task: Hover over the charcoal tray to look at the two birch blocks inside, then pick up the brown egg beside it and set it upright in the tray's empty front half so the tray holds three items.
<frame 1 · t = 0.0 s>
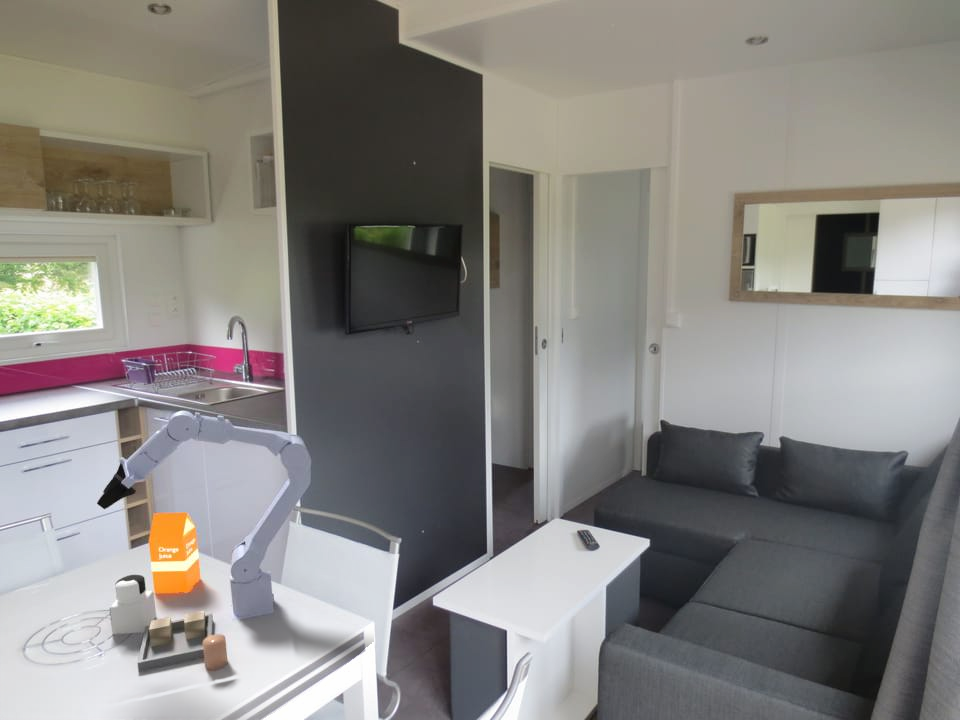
hand: (103, 500, 149), 32 cm above the table, tool tilted 50°, fingers open, 7 cm apart
birch block a: (196, 632, 153), point 1 cm above the table, touching tray
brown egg: (216, 666, 141), on the table
birch block b: (162, 639, 151), point 1 cm above the table, touching tray
orange juice: (178, 586, 177), on the table
tray: (178, 647, 149), on the table
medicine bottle: (135, 628, 157), on the table
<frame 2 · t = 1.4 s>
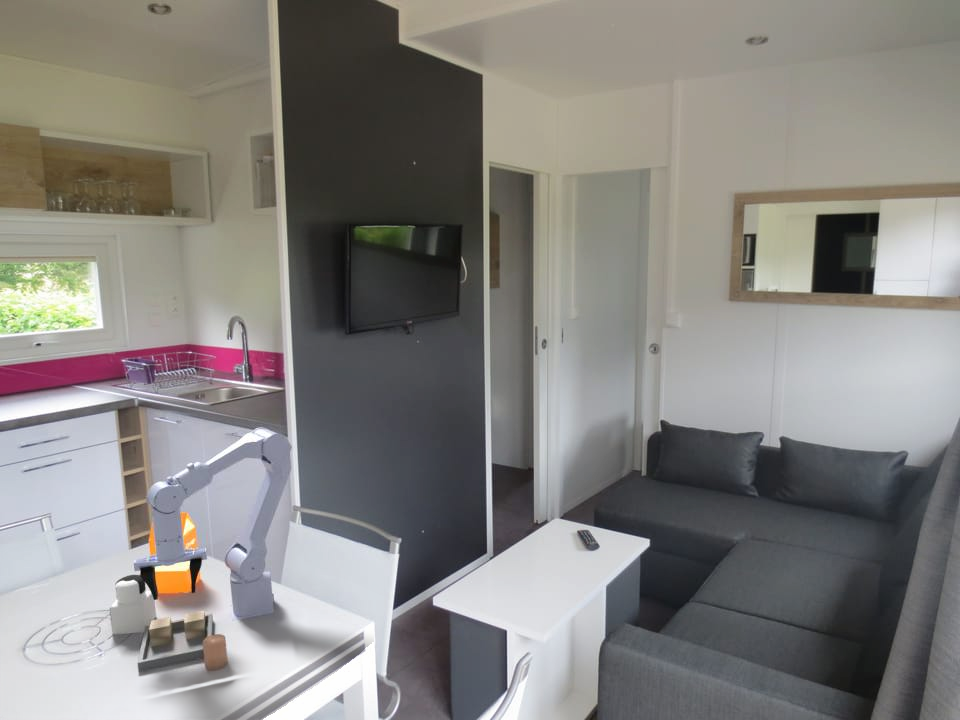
hand: (174, 594, 151), 10 cm above the table, tool pointing down, fingers open, 7 cm apart
nothing on the table moved.
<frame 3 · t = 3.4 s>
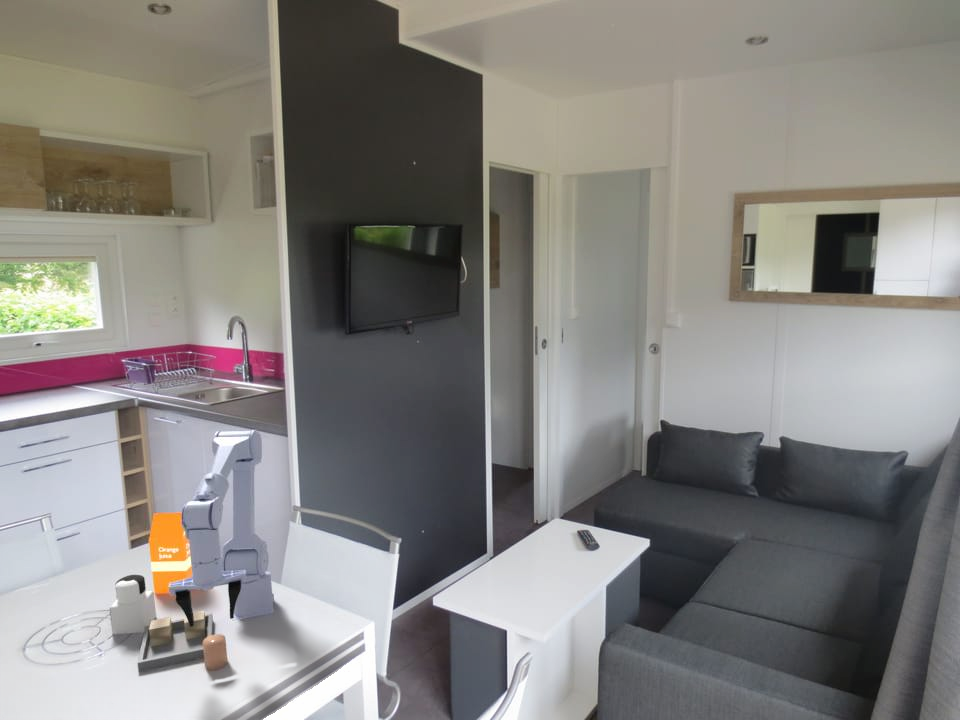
hand: (212, 620, 139), 10 cm above the table, tool pointing down, fingers open, 7 cm apart
nothing on the table moved.
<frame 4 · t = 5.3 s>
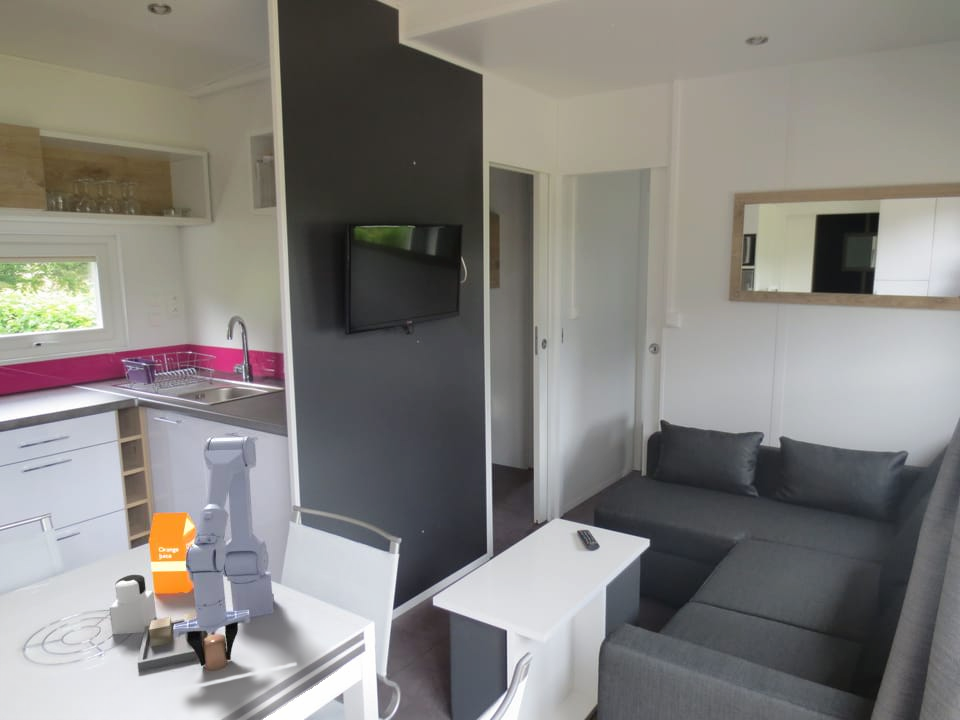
hand: (216, 660, 141), 1 cm above the table, tool pointing down, fingers closed on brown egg, 4 cm apart
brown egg: (216, 666, 141), on the table, touching gripper
everything else where it was.
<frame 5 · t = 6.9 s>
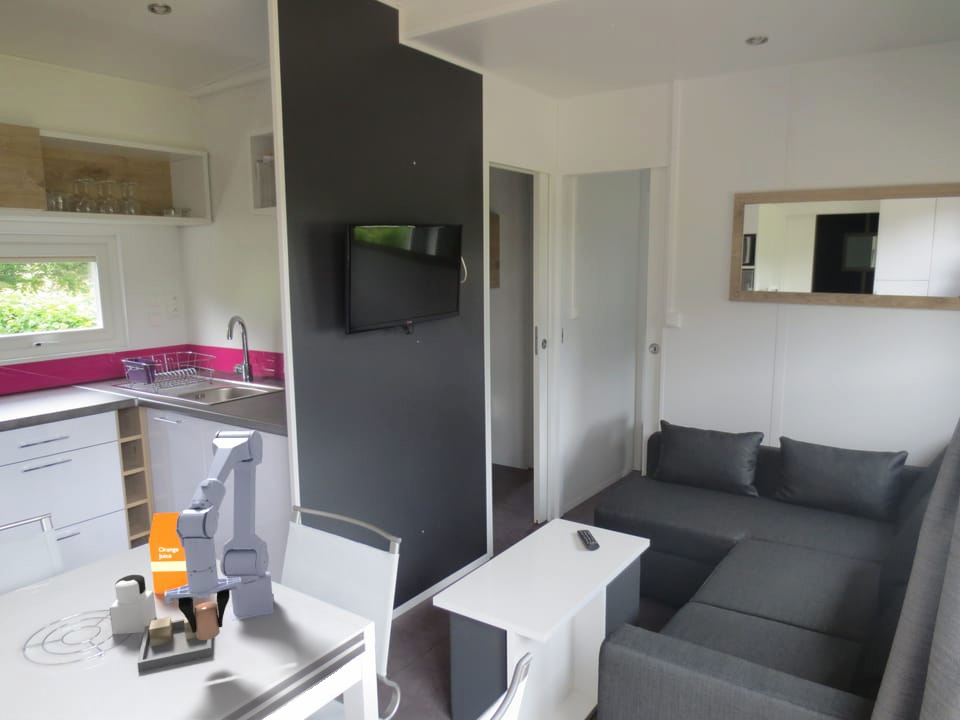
hand: (207, 627, 141), 8 cm above the table, tool pointing down, fingers closed on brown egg, 4 cm apart
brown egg: (208, 634, 141), point 7 cm above the table, touching gripper
everything else where it was.
when the fingers open (4 cm above the table, at t = 8.8 s): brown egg drops 2 cm, resting on tray.
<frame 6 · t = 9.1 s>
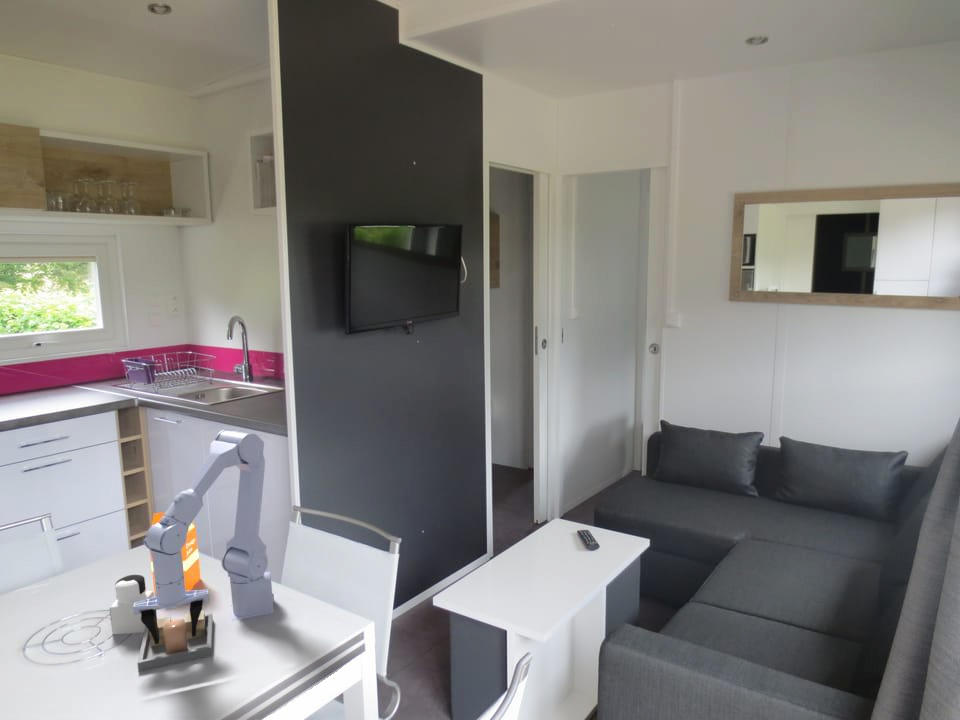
hand: (175, 637, 146), 4 cm above the table, tool pointing down, fingers open, 7 cm apart
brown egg: (176, 651, 146), point 1 cm above the table, touching tray
everything else where it was.
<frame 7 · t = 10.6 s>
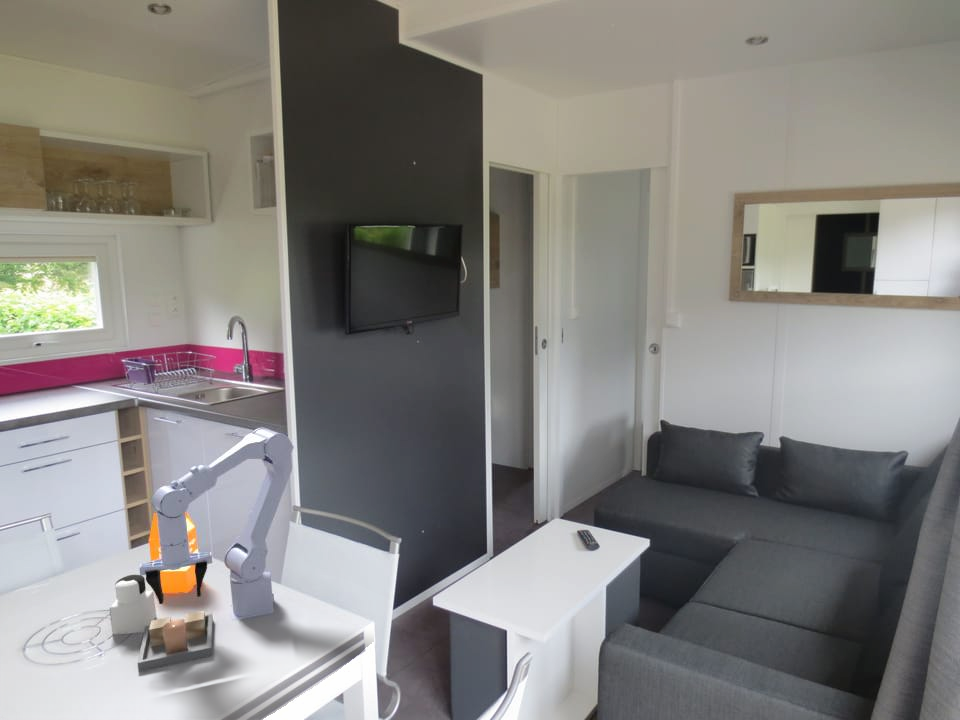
hand: (180, 598, 151), 9 cm above the table, tool pointing down, fingers open, 7 cm apart
nothing on the table moved.
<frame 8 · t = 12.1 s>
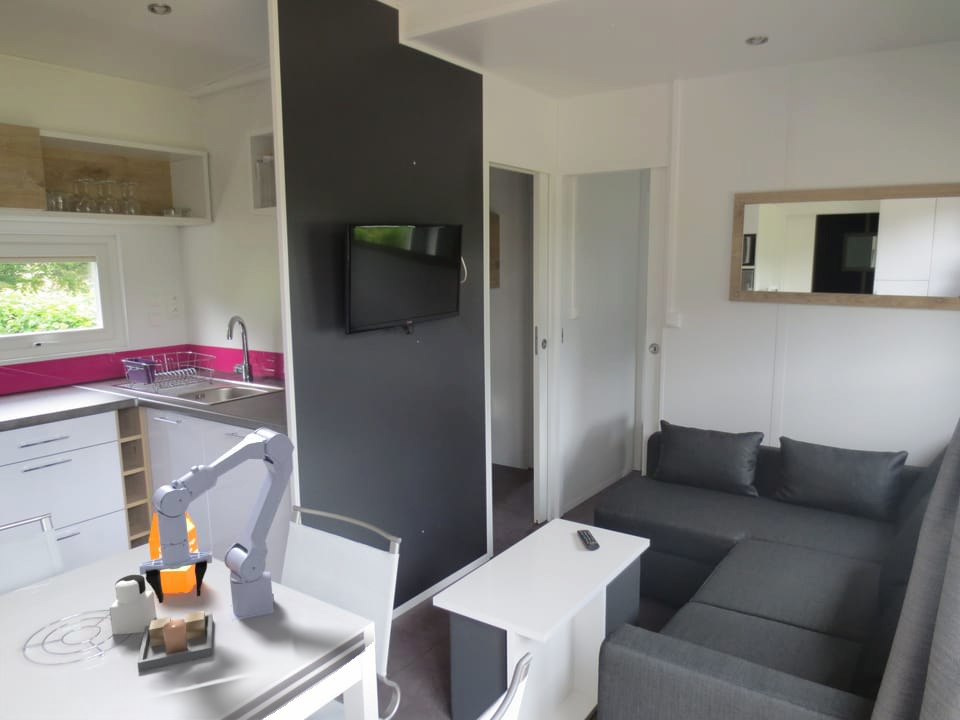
hand: (180, 597, 151), 9 cm above the table, tool pointing down, fingers open, 7 cm apart
nothing on the table moved.
at the end: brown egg inside the target area (2.6 cm from its centre), point 0.6 cm above the table; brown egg tilted 1°; the gripper is holding nothing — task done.
